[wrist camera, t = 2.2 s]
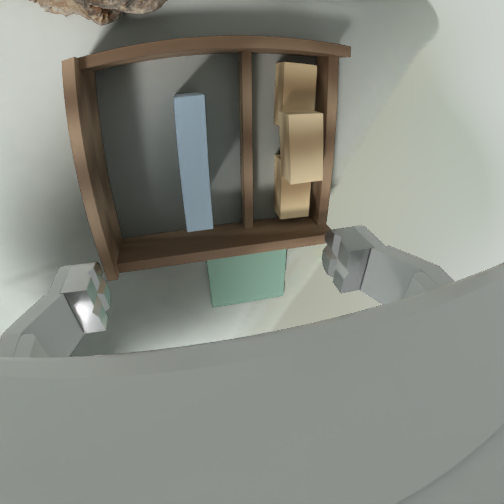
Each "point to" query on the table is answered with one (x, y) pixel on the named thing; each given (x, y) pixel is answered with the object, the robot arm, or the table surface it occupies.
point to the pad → (246, 277)
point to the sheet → (193, 159)
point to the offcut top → (301, 145)
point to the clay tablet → (100, 8)
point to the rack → (248, 231)
